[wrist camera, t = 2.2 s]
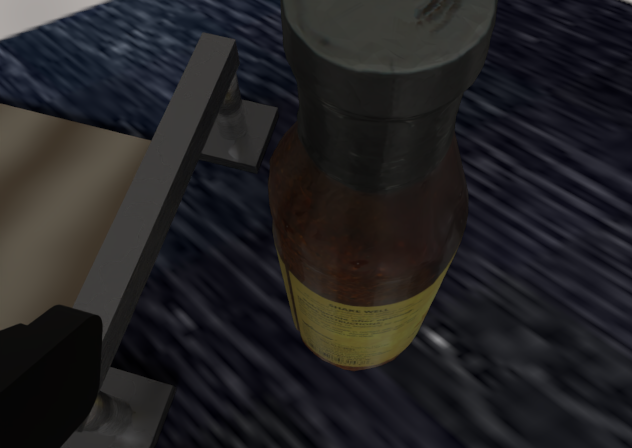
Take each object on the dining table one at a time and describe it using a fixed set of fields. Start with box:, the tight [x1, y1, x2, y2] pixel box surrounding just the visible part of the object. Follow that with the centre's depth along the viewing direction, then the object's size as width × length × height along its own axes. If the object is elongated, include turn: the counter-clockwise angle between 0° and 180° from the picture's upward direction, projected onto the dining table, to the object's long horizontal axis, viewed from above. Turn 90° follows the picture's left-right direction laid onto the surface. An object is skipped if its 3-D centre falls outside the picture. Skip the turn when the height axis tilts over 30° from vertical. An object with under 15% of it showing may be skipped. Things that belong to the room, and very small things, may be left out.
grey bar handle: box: [61, 33, 279, 448], centre depth 26 cm, size 4×20×7 cm, turn 164°
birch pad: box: [0, 104, 151, 330], centre depth 30 cm, size 12×12×1 cm
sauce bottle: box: [268, 0, 498, 371], centre depth 19 cm, size 6×6×20 cm
